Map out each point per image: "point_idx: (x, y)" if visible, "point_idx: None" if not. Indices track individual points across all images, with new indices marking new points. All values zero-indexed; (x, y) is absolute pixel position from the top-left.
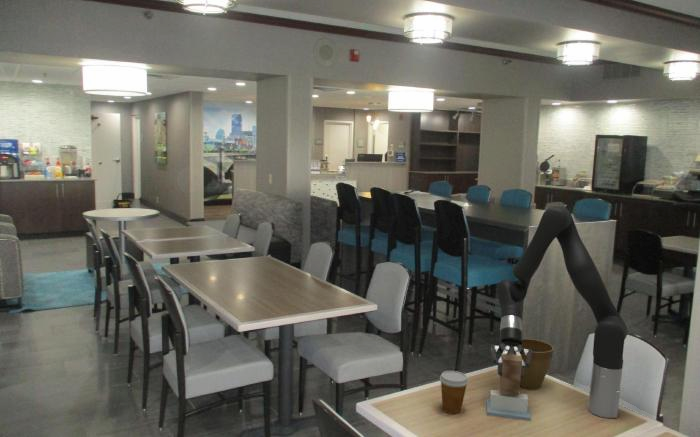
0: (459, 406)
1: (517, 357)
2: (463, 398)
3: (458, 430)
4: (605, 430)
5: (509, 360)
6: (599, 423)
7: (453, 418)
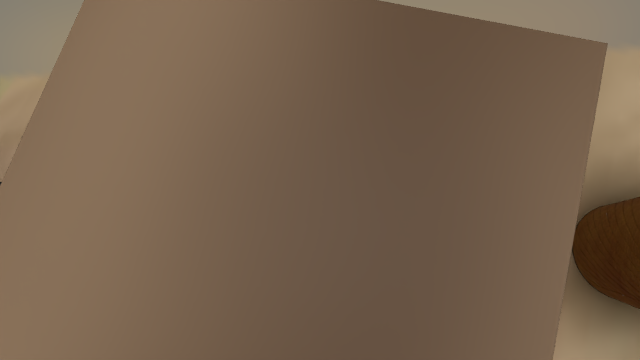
0: (622, 202)
1: (90, 209)
2: (631, 221)
3: (614, 57)
4: (19, 82)
5: (412, 17)
6: (5, 131)
7: (625, 159)
